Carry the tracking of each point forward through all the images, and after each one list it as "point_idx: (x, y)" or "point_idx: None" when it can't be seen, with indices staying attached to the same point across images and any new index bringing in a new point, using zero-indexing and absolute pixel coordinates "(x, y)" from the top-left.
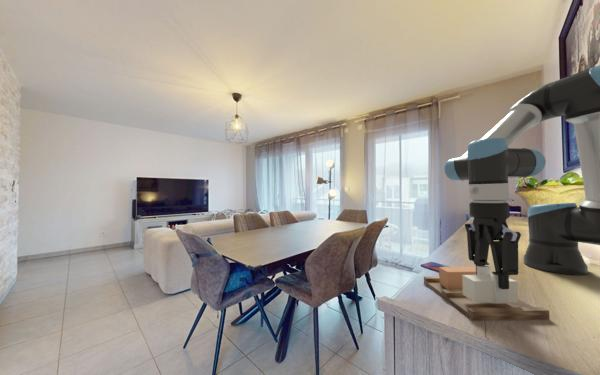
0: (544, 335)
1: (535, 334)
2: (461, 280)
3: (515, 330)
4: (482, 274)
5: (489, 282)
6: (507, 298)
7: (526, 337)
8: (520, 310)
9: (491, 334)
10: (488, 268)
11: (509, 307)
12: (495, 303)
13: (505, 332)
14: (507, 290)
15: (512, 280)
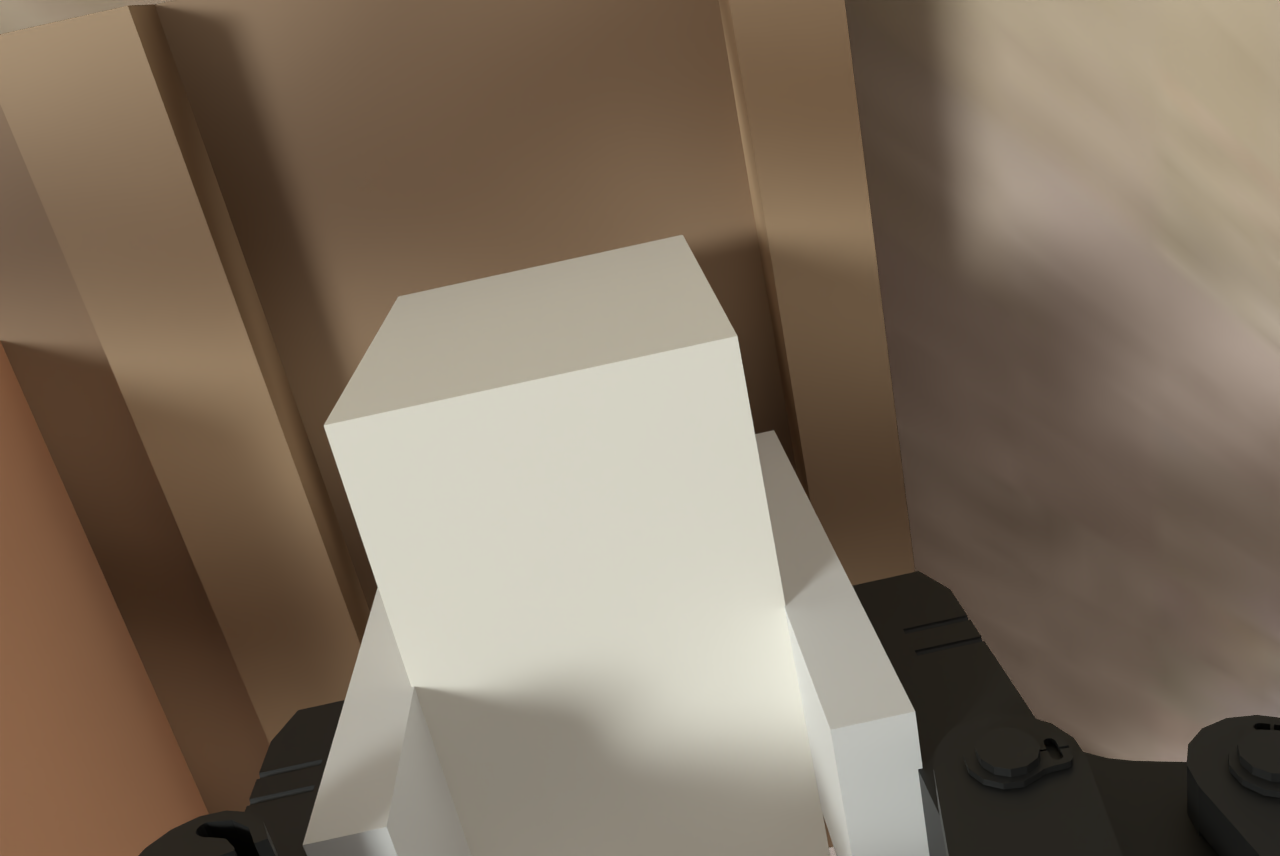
0: (1156, 241)
1: (1139, 326)
2: (94, 781)
3: (1071, 483)
4: (464, 838)
5: (825, 844)
6: (788, 459)
7: (1188, 452)
8: (875, 316)
9: (1140, 728)
10: (405, 826)
11: (794, 407)
12: None
13: (1108, 596)
14: (810, 510)
15: (692, 405)
